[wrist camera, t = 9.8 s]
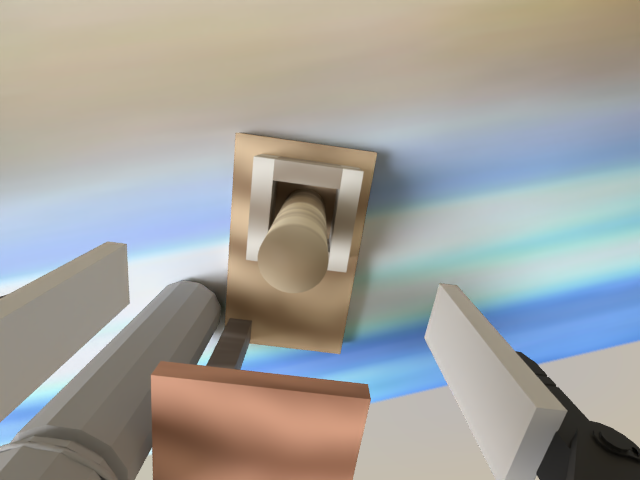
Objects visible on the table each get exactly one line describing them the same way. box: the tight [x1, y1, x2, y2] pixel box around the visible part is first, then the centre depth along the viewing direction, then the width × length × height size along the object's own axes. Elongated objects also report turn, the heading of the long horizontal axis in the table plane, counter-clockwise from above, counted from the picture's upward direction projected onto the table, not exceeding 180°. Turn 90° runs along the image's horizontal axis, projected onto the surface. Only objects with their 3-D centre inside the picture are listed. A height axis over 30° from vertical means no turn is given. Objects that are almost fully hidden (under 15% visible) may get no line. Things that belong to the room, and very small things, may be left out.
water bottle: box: [0, 280, 221, 480], centre depth 26 cm, size 9×8×25 cm
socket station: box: [151, 133, 377, 480], centre depth 27 cm, size 22×13×18 cm, turn 172°
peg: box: [258, 188, 328, 293], centre depth 25 cm, size 4×4×14 cm
